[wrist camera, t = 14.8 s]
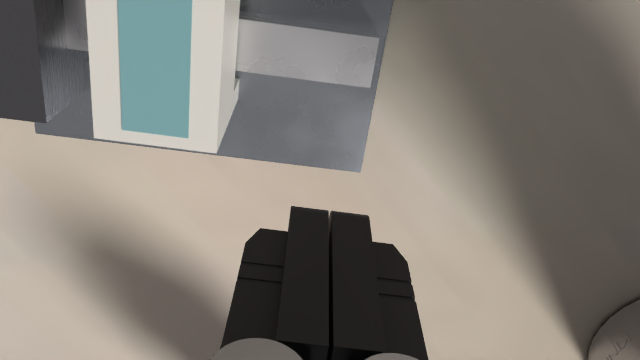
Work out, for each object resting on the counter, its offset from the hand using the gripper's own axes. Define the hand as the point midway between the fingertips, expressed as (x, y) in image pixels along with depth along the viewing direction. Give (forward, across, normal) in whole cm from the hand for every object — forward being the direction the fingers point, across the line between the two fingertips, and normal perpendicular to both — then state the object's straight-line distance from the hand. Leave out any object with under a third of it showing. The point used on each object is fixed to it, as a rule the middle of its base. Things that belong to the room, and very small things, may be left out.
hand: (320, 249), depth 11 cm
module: (+16, +6, 0) cm, 17 cm away
